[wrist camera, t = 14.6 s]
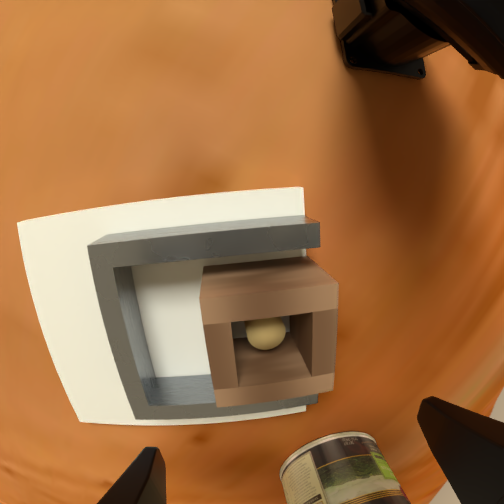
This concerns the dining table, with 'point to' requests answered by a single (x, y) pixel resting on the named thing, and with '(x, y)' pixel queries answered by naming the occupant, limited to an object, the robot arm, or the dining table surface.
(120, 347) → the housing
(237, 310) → the hollow wooden box
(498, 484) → the robot arm
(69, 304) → the base board
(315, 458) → the coffee can
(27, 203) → the dining table surface
